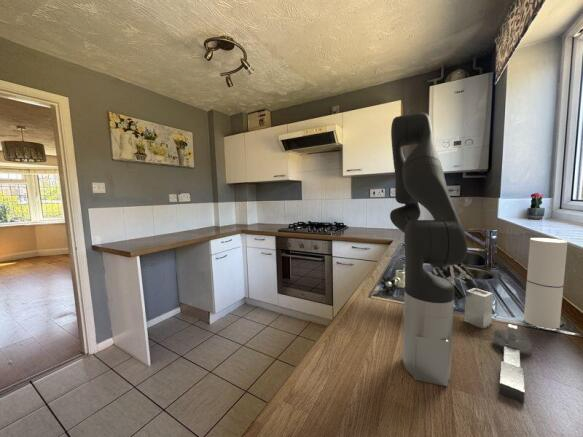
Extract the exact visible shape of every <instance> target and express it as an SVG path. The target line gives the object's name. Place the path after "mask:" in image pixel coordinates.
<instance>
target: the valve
mask: <svg viewBox="0 0 583 437" xmlns="http://www.w3.org/2000/svg"><path fill="white" fill-rule="evenodd" d="M380 284H381V285H382V287H381V288H382V290H386V292H387V291H388V292H389V293H391V292H392V293H395V292H396V288H398V289H399V288H400V289H402V288H404V289H405V270H403V269H397V270H395V276H394V277H393V278H391V276H390V275H389V276H387V277H386V276H382V280H381V281H380ZM388 292H387V293H388Z"/></svg>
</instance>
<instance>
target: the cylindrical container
mask: <svg viewBox="0 0 583 437" xmlns="http://www.w3.org/2000/svg"><path fill="white" fill-rule="evenodd" d="M567 250H568V241H567V240H563V239H558V238H546V237H530V238H529V251H528V262H527V273H526V274H527V275H526V288H525V299H524V301H525V302H524V314H523V321H524V320H525V321H527V322H528V323H530V324H533V325H535V326H540V327H544V328H553V329H556V328H559V329H560V328H561V325H560V324H561V314H562V306H563V305H562V304H563V294H564V283H565V275H566V274H565V271H566V261H567ZM525 321H524V322H525Z"/></svg>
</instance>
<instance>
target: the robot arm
mask: <svg viewBox="0 0 583 437" xmlns="http://www.w3.org/2000/svg"><path fill="white" fill-rule="evenodd" d="M390 128H391V129H390V135H391V136H390V137H391V138H390V139H391V150H392V160H393V169H394V170H393V171H394V176H395V177H394V179H395V180H394V182H395V185H394V186H395V187H394V191H395V192H394V193H395V194H394V197H395V201H396V202H397V203H398V204H400V205H402V206H400V207H396V208H394V209H392V210H391V211H390V213H389V219H390V221H391V223H392V225H394V226H395V227H396V228H397V229H399V230H400V231H401V232H402V233H404V239H403V240H404V241H403V242H404V258H405V259H404V265H405V266H404V271H405V287H404V301H403V302H404V305H403V335H402V336H403V337H402V339H403V340H402V342H403V343H402V363H403V364H402V365H403V367H404V369H405V370H406V371H407V372H408V373H409V374H410V375H411V376H412V378H413V380H414V381H419V382H422V383H428V384H434V385H438V386H444V387H448V386H449V381H450V379H451V372H452V371H451V370H452V348H453V347H452V346H453V328H454V327H453V325H454V324H453V323H454V322H453V321H454V307H455V306H454V304H455V303H454V302H455V298H456V300H458V301H459V300H462V299H464V298H466V294H464V293H463V291H462V290H461V289H460V288H459V287H458V285H457V284H456V282H455V280H460V281H461V282H463V283H464V284H465V286H466V287H467V289H468V290H470V289H473V288H477V289H480V288H479V287H478V286H477V284H476V283H475V282H474V281H473V278H475V276H474V274H473V273H472V272H471V271H470V270H469V269H468V267H466V265H465V264H464V262H465V261H466V258H467V255H468V250H469V249H468V239H467V236H466V232H465V229H464V226H463V224H462V222H461V219H460V216H459V215H458V212H457V210H456V208H455V205H454V203H453V201H452V199H451V196H450V193H449V188H448V185H447V182H446V178H445V173H444V169H443V167H442V162H441V160H440V157H439V154H438V151H437V148H436V145H435V139H434V134H433V133H434V132H433V127H432V121H431V118H430V116H429V114H427V112H417V113H411V114H410V113H409V114H403V115H399V116H395V117H394V118H393V119H392V122H391V127H390ZM412 145H417V146H416V147H415V148H414V149H413V150H412V151H411V152H410V153H409V154H408V156H407V157H406V158H405V156H404V153H403V147H405V146H412ZM419 204H420V205H421V206H423V207H424V208H425V209H426V210H427V211H428V212H429V214H430V215H431V217H432V218H433V219H419V218H420V217H421V208H420V206H419ZM424 264H429V266H430V267H431V268H432V270H430V271H431V272H428V271H427V270H426V269H424Z"/></svg>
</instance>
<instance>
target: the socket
mask: <svg viewBox="0 0 583 437" xmlns="http://www.w3.org/2000/svg"><path fill="white" fill-rule="evenodd" d="M464 301H465V302H464V318H463V319H464V320H463V321H464V322H466V323H468V324H470V325H472V326H475V327H477V328H480V329H482V330H483V329H485V328H488V327H489V326H491V325H492V322H493V321H492V319H493V309H494V308H493V306H494V293H493V292H489V291H486V290H482V289H480V288H479V289H477V288H473V289H467V290H466V291H465V300H464ZM490 324H491V325H490ZM487 326H488V327H487Z"/></svg>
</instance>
